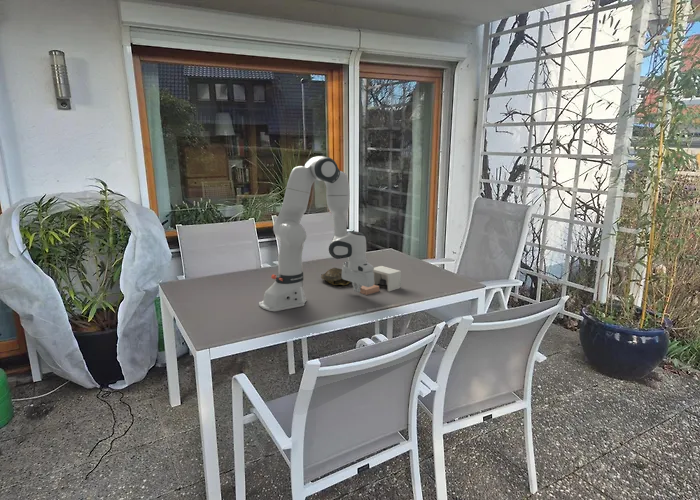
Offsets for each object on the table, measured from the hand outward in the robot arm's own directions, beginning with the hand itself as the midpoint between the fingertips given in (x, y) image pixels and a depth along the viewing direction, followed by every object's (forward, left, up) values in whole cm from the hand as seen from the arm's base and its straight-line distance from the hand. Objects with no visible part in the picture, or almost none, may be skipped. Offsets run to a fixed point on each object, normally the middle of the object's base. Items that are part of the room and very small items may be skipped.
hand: (357, 291), depth 218 cm
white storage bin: (+20, 0, -2) cm, 20 cm away
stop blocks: (+22, 0, -2) cm, 22 cm away
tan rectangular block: (+8, 0, -2) cm, 8 cm away
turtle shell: (+8, +25, -2) cm, 26 cm away
